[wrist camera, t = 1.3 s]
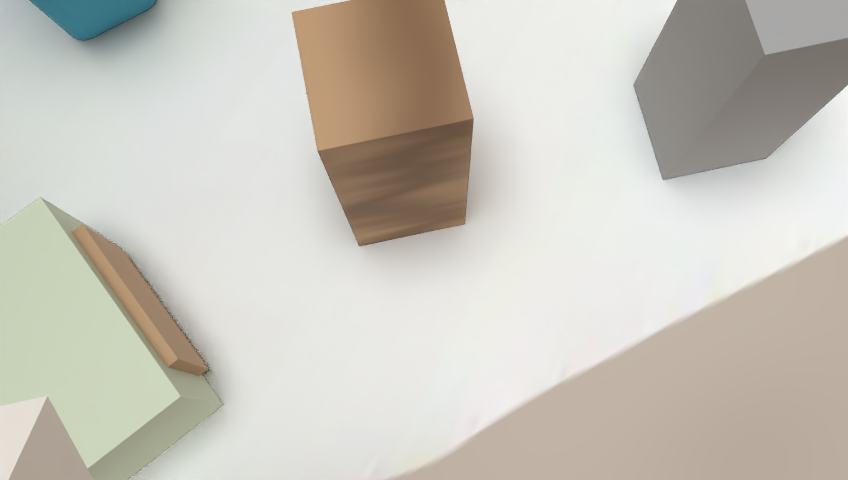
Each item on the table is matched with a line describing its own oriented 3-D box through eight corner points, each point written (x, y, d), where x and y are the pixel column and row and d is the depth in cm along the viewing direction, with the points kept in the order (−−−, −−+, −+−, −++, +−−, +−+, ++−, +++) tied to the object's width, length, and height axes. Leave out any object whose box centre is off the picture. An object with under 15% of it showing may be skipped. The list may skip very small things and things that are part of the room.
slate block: (662, 179, 36) (764, 54, 25) (633, 84, 38) (717, -77, 26) (766, 158, 36) (915, 24, 25) (733, 63, 38) (861, -106, 26)
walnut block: (359, 246, 36) (317, 150, 24) (340, 147, 37) (291, 12, 25) (464, 224, 36) (473, 118, 24) (442, 126, 37) (439, -18, 26)
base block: (-81, 370, 35) (-184, 355, 29) (113, 229, 37) (50, 189, 31) (34, 555, 33) (-54, 578, 27) (234, 397, 34) (191, 387, 29)
